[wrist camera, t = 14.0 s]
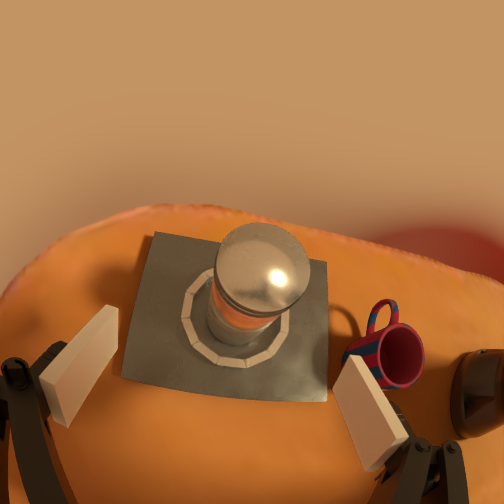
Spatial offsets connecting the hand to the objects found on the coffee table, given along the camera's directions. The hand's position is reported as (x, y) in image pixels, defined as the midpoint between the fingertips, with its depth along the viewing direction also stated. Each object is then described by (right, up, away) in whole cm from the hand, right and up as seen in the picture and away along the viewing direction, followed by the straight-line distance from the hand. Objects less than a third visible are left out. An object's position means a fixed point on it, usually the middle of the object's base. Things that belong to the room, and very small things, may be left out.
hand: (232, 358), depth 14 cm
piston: (-1, -1, +12) cm, 12 cm away
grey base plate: (-1, -1, +14) cm, 14 cm away
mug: (+14, -6, +15) cm, 22 cm away
